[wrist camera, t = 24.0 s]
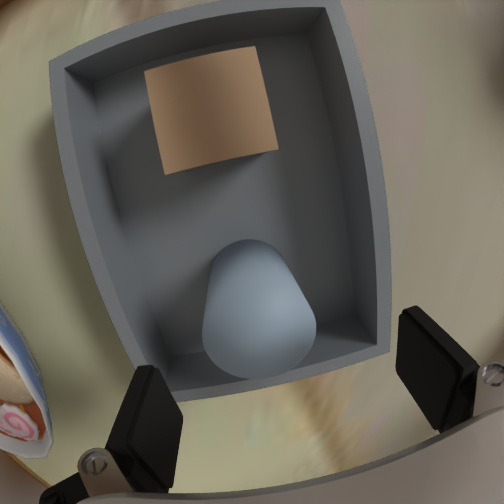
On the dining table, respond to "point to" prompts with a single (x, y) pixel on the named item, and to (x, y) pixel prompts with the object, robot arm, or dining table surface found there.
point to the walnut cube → (210, 109)
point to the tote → (229, 187)
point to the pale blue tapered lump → (255, 313)
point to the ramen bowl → (21, 396)
